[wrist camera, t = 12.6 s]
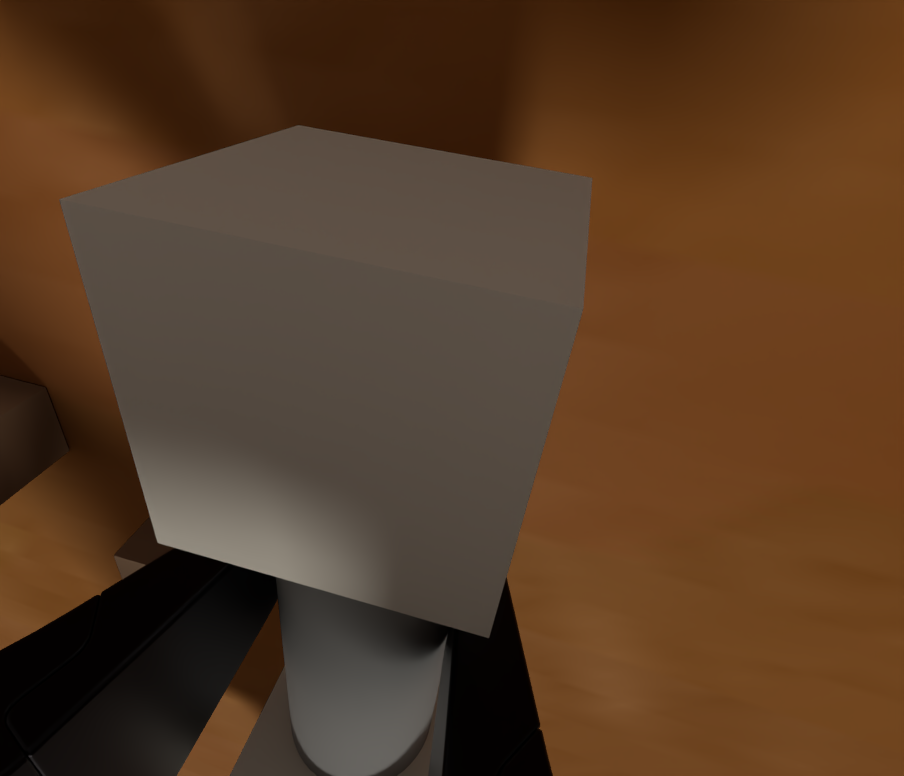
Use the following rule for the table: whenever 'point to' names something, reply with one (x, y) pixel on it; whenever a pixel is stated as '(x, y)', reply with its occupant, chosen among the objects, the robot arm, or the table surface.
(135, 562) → the dark brown block
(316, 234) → the square-ended dumbbell
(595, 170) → the table surface
